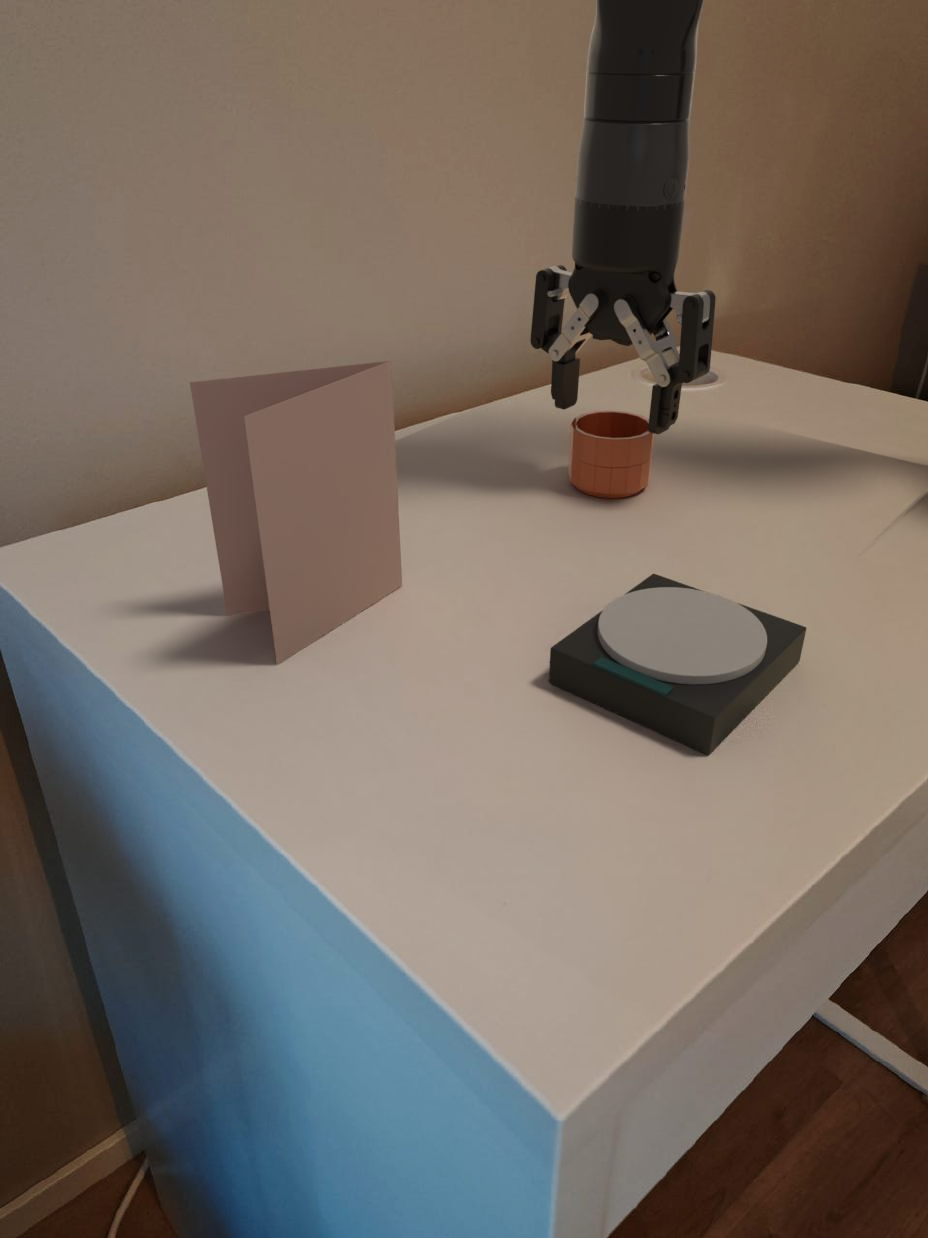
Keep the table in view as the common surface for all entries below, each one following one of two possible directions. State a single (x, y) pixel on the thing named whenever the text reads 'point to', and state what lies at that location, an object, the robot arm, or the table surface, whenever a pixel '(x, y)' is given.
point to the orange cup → (610, 453)
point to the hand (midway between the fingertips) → (610, 418)
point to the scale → (677, 660)
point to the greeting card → (302, 494)
